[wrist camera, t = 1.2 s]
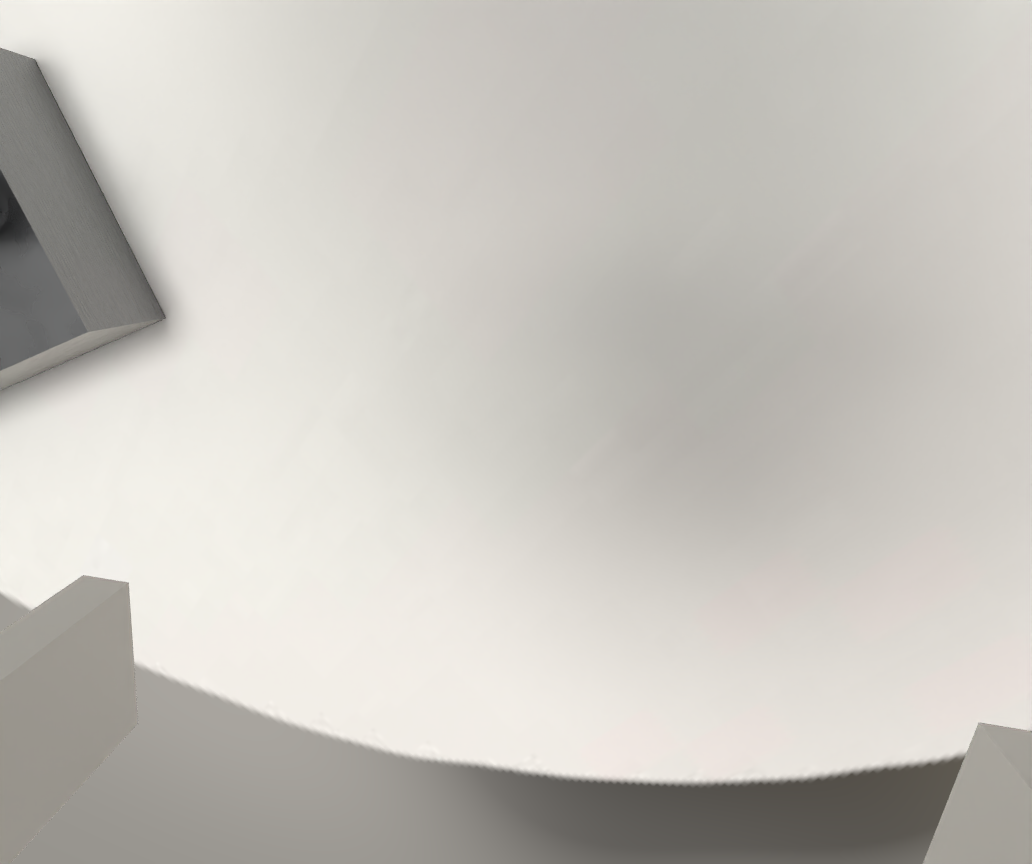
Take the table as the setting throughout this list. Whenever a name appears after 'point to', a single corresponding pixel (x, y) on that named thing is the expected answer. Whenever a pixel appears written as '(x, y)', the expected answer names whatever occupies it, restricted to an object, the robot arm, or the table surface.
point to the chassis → (56, 239)
